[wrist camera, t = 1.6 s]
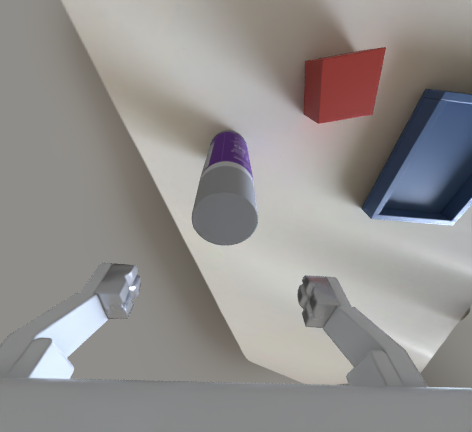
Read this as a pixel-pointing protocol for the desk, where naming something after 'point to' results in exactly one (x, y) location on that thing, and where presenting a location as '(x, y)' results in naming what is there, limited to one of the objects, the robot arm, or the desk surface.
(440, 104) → the tray
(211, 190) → the container
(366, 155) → the desk surface
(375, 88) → the red block
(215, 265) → the desk surface
